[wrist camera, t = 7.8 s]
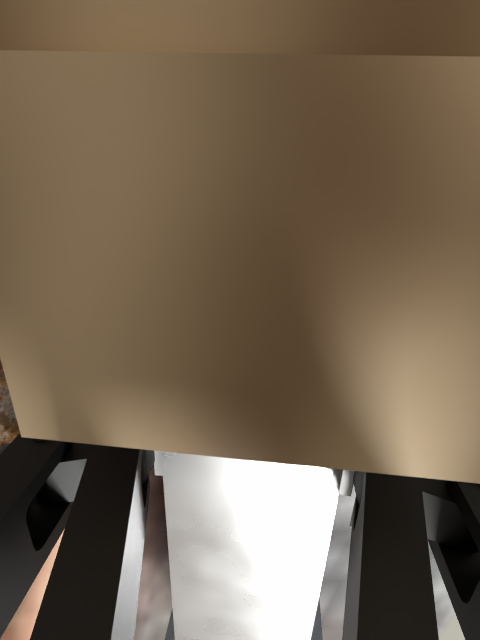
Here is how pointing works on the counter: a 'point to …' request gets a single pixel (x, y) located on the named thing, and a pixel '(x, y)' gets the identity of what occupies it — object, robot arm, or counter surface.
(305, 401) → the cardboard box
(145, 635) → the counter surface
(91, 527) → the robot arm
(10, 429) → the rock
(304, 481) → the light grey long block
